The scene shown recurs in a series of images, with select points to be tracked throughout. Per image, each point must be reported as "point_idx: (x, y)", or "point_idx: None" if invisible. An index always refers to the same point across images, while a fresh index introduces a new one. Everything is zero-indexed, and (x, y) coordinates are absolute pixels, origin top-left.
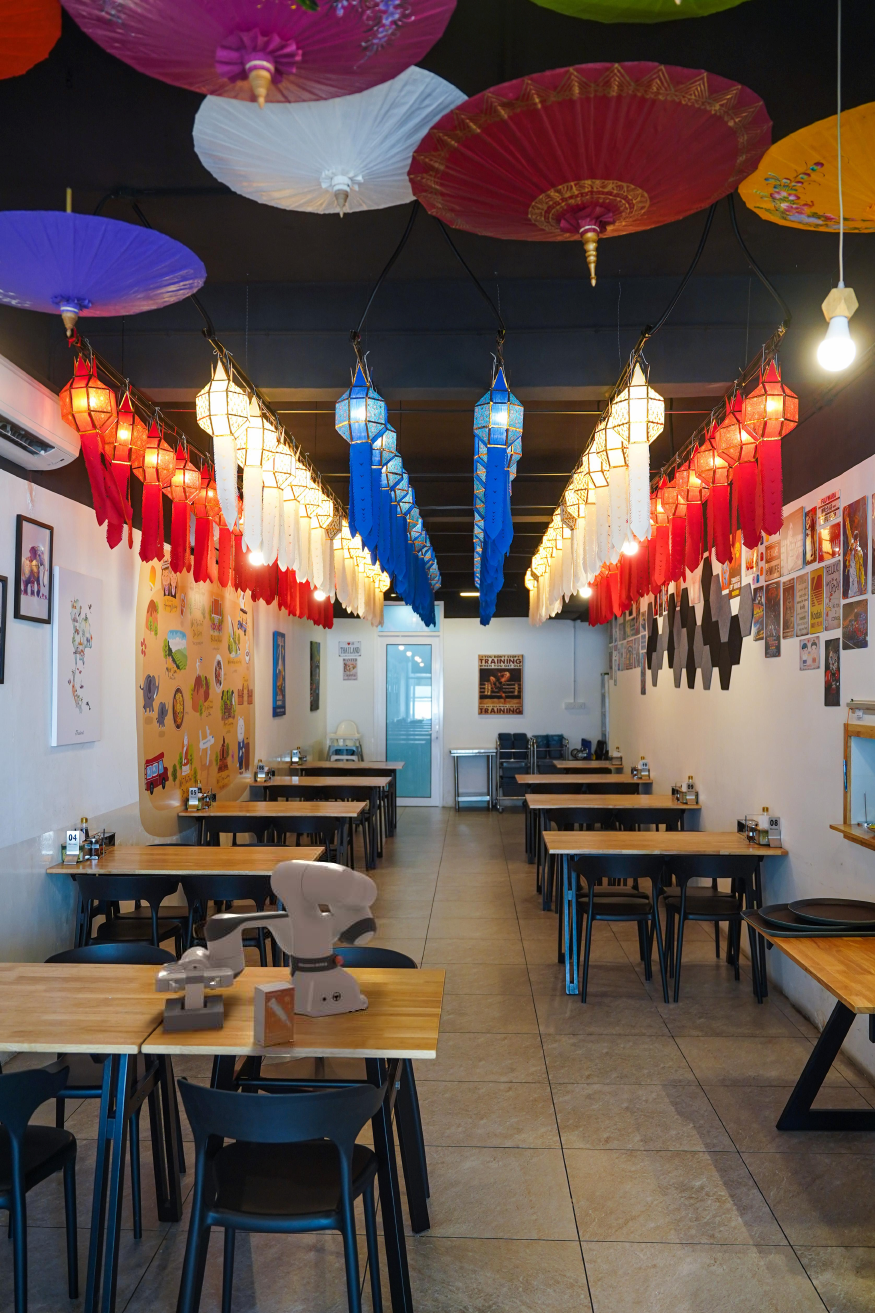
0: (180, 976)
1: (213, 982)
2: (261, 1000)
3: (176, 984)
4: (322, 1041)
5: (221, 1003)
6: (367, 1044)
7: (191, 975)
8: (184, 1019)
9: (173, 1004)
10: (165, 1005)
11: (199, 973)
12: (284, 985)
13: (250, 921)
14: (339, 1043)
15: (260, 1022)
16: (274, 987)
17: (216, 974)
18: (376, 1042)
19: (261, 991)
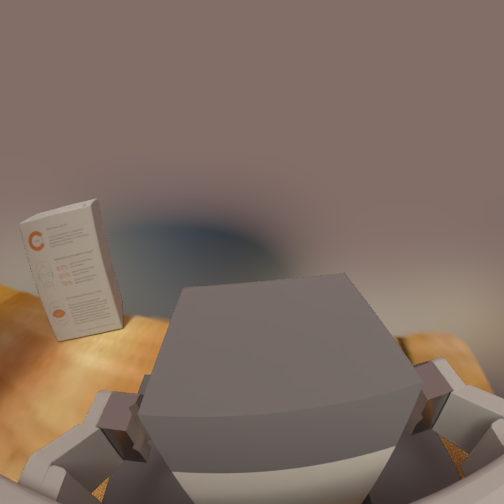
0: (493, 486)
1: (110, 402)
2: (101, 221)
3: (437, 384)
4: (38, 308)
5: (120, 466)
6: (14, 294)
7: (298, 285)
8: None
9: (415, 485)
10: (452, 463)
11: (218, 322)
12: (44, 212)
13: None
14: (30, 300)
15: (111, 268)
16: (66, 206)
17: (16, 496)
18: (4, 296)
19: (96, 203)
